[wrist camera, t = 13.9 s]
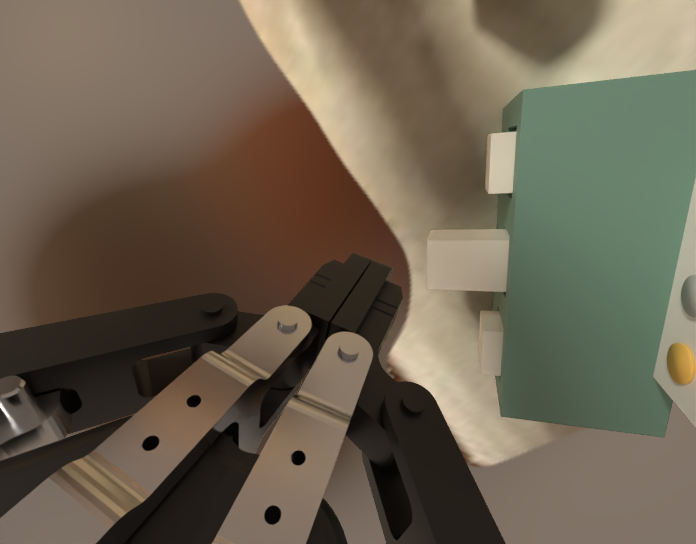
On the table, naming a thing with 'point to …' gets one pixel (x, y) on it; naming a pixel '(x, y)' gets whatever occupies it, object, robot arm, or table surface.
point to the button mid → (468, 259)
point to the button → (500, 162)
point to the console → (601, 255)
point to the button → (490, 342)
